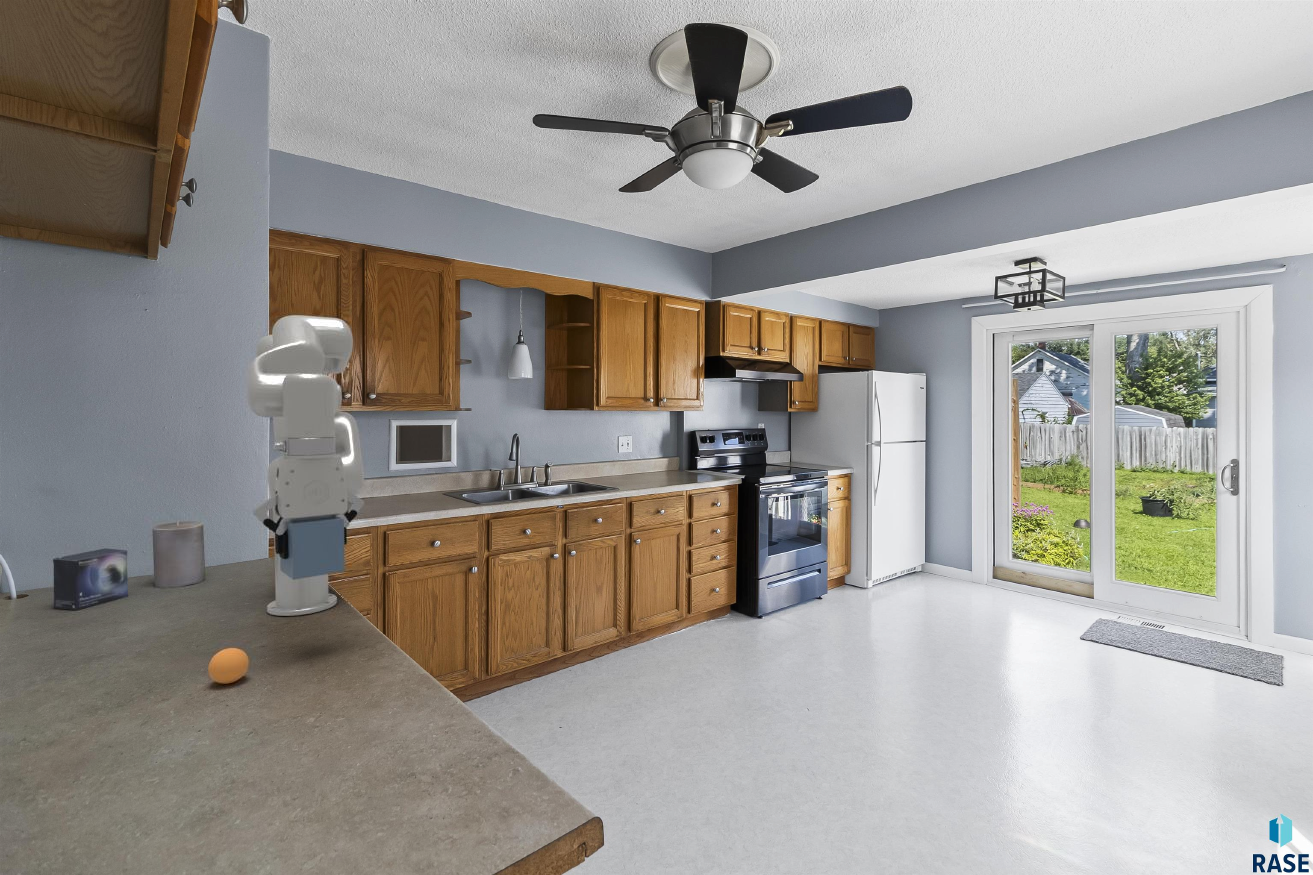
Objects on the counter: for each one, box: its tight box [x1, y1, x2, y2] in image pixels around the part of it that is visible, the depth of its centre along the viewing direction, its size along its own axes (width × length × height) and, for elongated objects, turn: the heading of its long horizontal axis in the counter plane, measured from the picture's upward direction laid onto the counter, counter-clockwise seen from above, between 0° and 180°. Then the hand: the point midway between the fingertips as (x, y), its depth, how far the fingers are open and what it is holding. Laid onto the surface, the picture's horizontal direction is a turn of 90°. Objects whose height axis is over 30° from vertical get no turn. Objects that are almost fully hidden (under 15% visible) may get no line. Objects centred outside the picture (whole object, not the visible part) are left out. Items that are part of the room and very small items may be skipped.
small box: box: [52, 547, 129, 611], centre depth 133 cm, size 11×6×10 cm, turn 168°
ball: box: [207, 647, 250, 685], centre depth 94 cm, size 5×5×5 cm
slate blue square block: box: [280, 516, 346, 580], centre depth 105 cm, size 8×8×9 cm
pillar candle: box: [151, 519, 206, 589], centre depth 148 cm, size 10×10×15 cm
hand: (312, 552), depth 105 cm, fingers closed on slate blue square block, 7 cm apart
